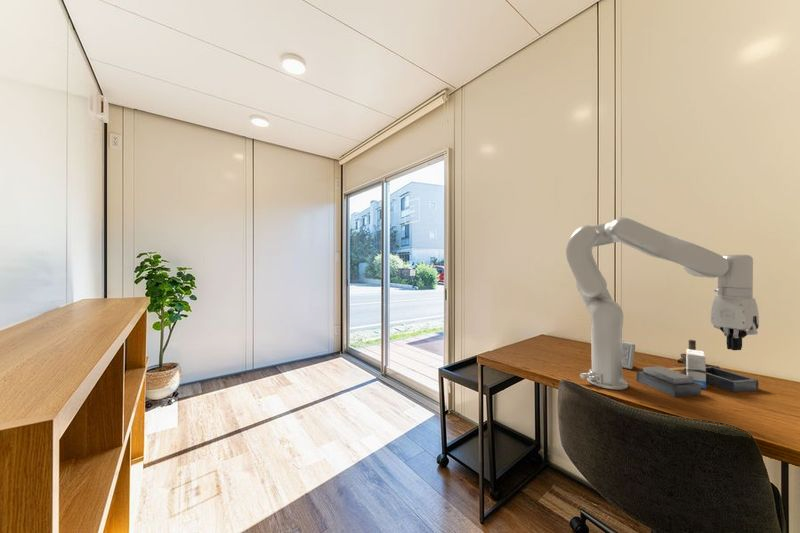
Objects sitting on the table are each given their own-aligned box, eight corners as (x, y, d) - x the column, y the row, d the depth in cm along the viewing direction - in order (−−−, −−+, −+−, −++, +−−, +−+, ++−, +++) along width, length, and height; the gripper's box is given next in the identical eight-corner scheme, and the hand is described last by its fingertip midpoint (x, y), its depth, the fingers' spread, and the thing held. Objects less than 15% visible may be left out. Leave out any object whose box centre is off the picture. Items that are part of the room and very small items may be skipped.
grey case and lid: (674, 397, 100) (674, 380, 99) (636, 380, 113) (636, 366, 113) (758, 390, 104) (758, 374, 103) (711, 375, 117) (711, 361, 117)
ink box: (706, 389, 105) (706, 356, 105) (686, 385, 108) (686, 353, 108) (704, 382, 111) (704, 350, 111) (686, 378, 115) (685, 348, 114)
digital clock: (588, 360, 138) (588, 337, 138) (602, 357, 142) (601, 335, 142) (626, 371, 123) (625, 346, 123) (640, 368, 127) (639, 343, 126)
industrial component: (681, 369, 124) (680, 340, 124) (678, 364, 130) (677, 337, 130) (713, 374, 119) (712, 344, 119) (708, 368, 125) (708, 340, 125)
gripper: (698, 290, 103) (698, 343, 103) (755, 295, 88) (754, 357, 89) (717, 290, 104) (717, 342, 104) (776, 295, 89) (775, 356, 90)
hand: (734, 349), depth 97 cm, fingers closed
